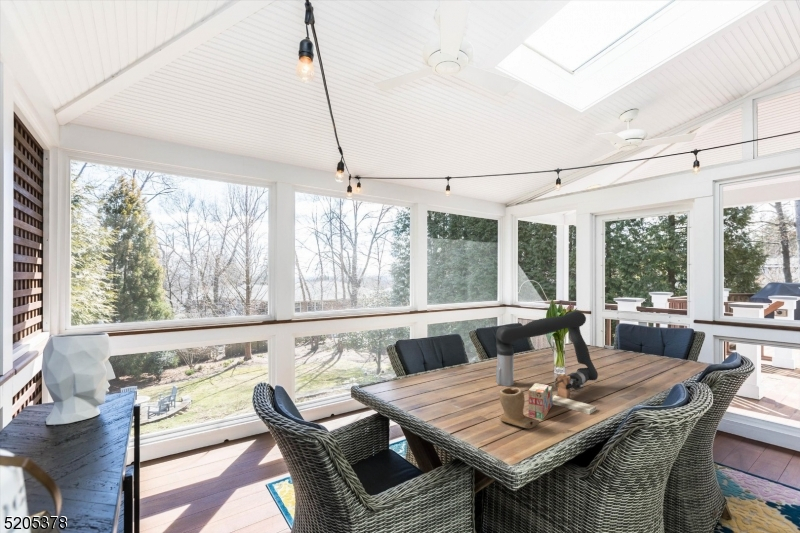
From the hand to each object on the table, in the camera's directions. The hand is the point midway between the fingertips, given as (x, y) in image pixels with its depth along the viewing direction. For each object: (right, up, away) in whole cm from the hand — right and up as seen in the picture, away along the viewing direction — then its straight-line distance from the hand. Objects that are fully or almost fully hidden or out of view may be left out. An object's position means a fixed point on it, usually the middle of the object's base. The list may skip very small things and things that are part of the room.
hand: (561, 386), depth 184 cm
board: (+1, -7, -8) cm, 11 cm away
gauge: (0, -6, 0) cm, 7 cm away
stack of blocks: (-16, -7, -14) cm, 22 cm away
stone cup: (-33, -7, -30) cm, 45 cm away
